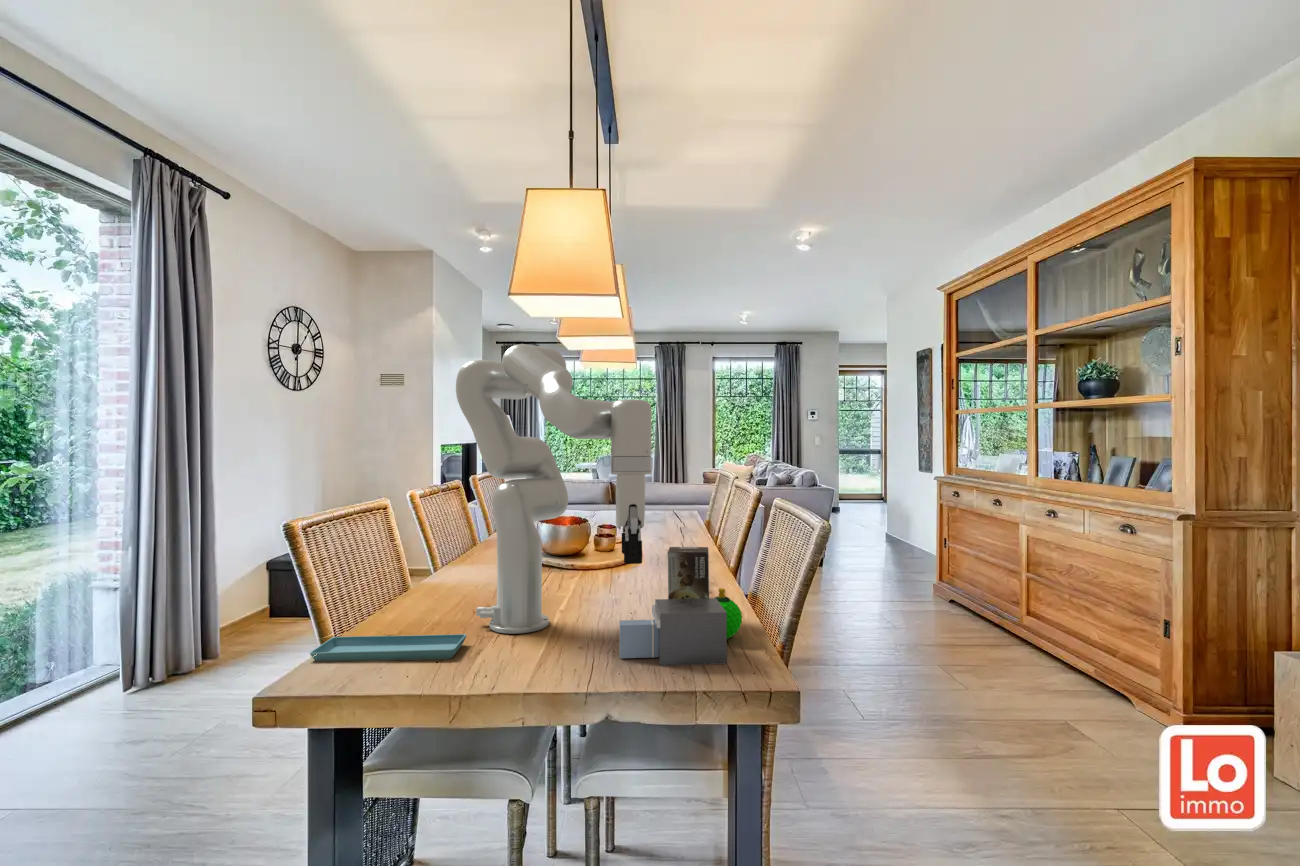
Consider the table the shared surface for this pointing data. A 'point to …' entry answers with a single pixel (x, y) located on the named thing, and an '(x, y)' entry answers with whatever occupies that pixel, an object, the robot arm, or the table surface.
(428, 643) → the teal serving tray
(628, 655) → the blue-grey banded block
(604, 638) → the table surface
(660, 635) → the dark grey box
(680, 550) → the coffee box
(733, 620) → the ornament
